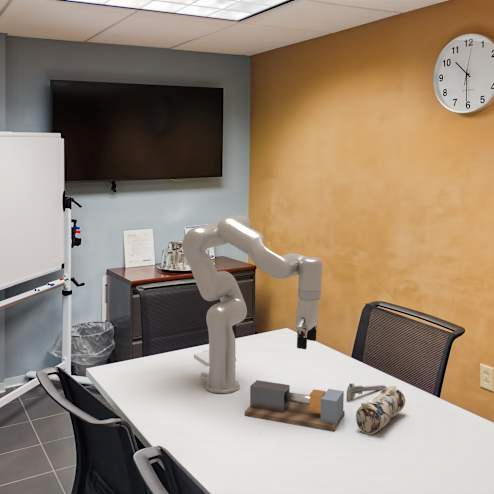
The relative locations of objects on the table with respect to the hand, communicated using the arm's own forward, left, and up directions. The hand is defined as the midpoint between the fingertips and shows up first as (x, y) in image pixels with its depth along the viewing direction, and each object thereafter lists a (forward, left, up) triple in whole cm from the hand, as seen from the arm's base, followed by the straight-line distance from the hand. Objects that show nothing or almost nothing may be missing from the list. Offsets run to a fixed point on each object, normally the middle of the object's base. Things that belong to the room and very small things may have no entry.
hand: (306, 344), depth 208 cm
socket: (+11, -9, -20) cm, 25 cm away
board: (-1, -9, -22) cm, 23 cm away
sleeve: (-10, -9, -20) cm, 24 cm away
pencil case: (+26, -3, -22) cm, 34 cm away
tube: (+3, -9, -19) cm, 21 cm away
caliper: (+17, +19, -22) cm, 34 cm away
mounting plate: (-49, +31, -22) cm, 62 cm away
